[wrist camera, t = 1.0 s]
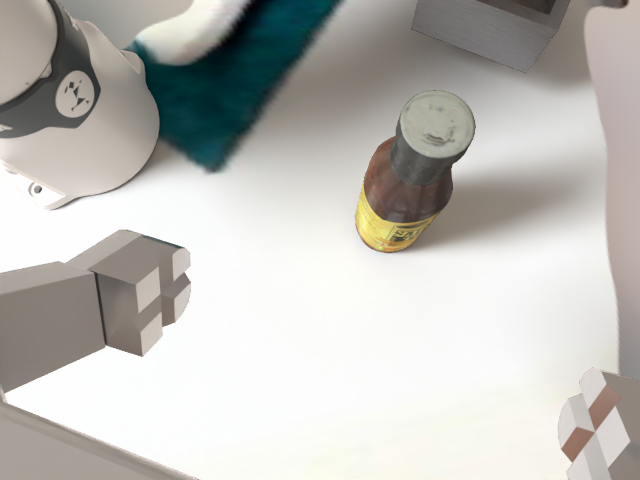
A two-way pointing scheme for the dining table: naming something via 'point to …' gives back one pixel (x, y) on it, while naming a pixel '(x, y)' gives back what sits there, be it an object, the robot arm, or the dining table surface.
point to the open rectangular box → (493, 27)
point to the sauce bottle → (413, 171)
